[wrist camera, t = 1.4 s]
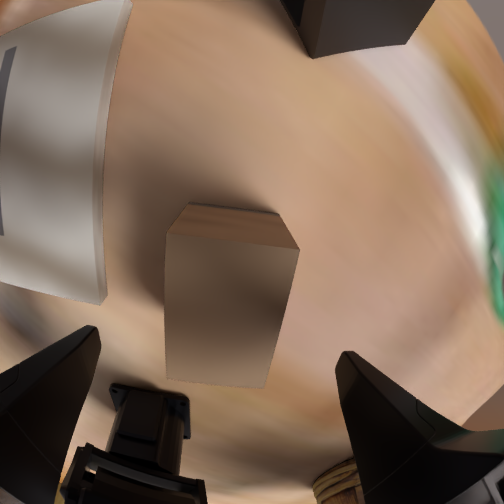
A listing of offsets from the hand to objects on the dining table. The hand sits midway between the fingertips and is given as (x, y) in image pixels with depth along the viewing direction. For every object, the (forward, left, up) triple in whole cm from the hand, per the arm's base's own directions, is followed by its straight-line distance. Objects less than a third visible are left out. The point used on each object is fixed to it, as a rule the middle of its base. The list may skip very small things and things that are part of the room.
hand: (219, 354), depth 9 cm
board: (+6, +15, -6) cm, 17 cm away
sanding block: (0, 0, -7) cm, 7 cm away
